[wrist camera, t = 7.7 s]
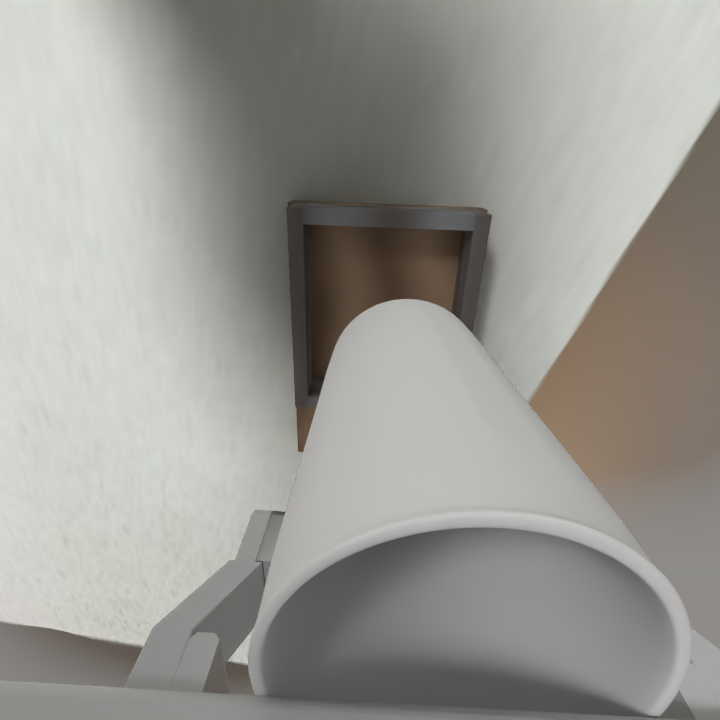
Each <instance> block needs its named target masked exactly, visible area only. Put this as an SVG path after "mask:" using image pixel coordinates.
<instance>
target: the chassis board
mask: <svg viewBox="0 0 720 720" xmlns="http://www.w3.org/2000/svg"><path fill="white" fill-rule="evenodd" d="M491 217H492V215H490V214H488V213H487V210H486V209H483V208H467V207H441V206H415V205H389V204H364V203H338V202H312V201H290V202H288V207H287V224H288V246H289V269H290V292H291V314H292V337H293V360H294V383H295V405H296V407H297V430H298V452H303V451H304V447H305V444H306V441H307V437H308V434H309V431H310V427H311V424H312V420H313V417H314V414H315V410H316V407H317V403H318V400H319V396H320V393H321V389H322V386H323V382H324V379H325V375H326V372H327V369H328V365H329V362H330V360H331V357H332V354H333V351H334V348H335V345H336V343H337V341H338V339H339V337H340V335H341V334H342V332H343V331H344V329H345V328H346V327H347V326H348V325H349V324H350V322H351V321H353V320H354V319H355V318H356V317H357V316H358V315H360V314H361V313H362V312H364V311H366V310H367V309H369V308H371V307H373V306H375V305H378V304H380V303H383V302H387V301H391V300H398V299H416V300H422V301H427V302H430V303H433V304H436V305H438V306H440V307H443V308H444V309H446V310H448V311H449V312H451V313H452V314H453V315H455V316H456V317H457V318H458V319H459V320H460V321H461V322H462V323H463V324H464V325H465V326H466V327H467V328H468V329H469V331H470V332H471V333H472V329H473V323H474V317H475V311H476V305H477V299H478V294H479V288H480V282H481V276H482V270H483V264H484V258H485V252H486V246H487V240H488V235H489V229H490V223H491Z"/></svg>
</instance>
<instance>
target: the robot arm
mask: <svg viewBox="0 0 720 720" xmlns="http://www.w3.org/2000/svg"><path fill="white" fill-rule="evenodd" d="M284 515H285V512H281V511H264V510H255V511H254V512H253V513H252V515H251V518H250V520H249V523H248V526H247V529H246V532H245V534H244V537H243V540H242V543H241V546H240V548H239V551H238V554H237V557H236V560H230V561H228V562H227V563H226V564H225V565H224V566H223V567H222V568H220V569H219V570H218V571H217V572H216V573H215V574H214V575H212V576H211V577H210V578H209V579H208V580H207V581H206V582H204V583H203V584H202V585H201V586H200V587H199V588H198V589H196V590H195V591H194V592H193V593H192V594H191V595H190V596H188V597H187V598H186V599H185V600H184V601H183V602H182V603H180V604H179V605H178V606H177V607H176V608H175V609H174V610H172V611H171V612H170V613H169V614H168V615H167V616H166V617H165V618H163V619H162V620H161V621H160V622H159V623H158V624H157V625H155V626H154V627H153V628H152V630H151V633H150V635H149V637H148V639H147V641H146V643H145V645H144V647H143V649H142V651H141V653H140V655H139V657H138V659H137V661H136V663H135V665H134V668H133V670H132V672H131V674H130V676H129V678H128V680H127V682H126V684H125V686H124V688H116V687H99V686H81V685H65V684H47V683H30V682H12V681H0V720H720V650H719V649H718V648H717V647H715V646H714V645H713V644H711V643H710V642H709V641H707V640H706V639H705V638H703V637H702V636H701V635H700V634H698V633H697V632H695V631H694V630H693V629H691V633H692V650H691V658H690V663H689V667H688V671H687V674H686V677H685V679H684V681H683V684H682V686H681V688H680V690H679V691H678V693H677V695H676V696H675V698H674V699H673V701H672V702H671V704H670V705H669V706H668V708H667V709H666V710H665V711H664V712H663V713H662V715H661V716H660V717H659V718H646V717H628V716H610V715H593V714H575V713H558V712H540V711H523V710H506V709H488V708H470V707H452V706H435V705H417V704H399V703H381V702H363V701H345V700H328V699H310V698H292V697H274V696H256V695H239V694H230V689H229V684H228V679H227V674H226V669H225V665H224V664H225V663H226V662H227V661H228V660H229V658H230V657H231V656H232V654H233V653H234V652H235V651H236V649H237V648H238V647H239V646H240V644H241V643H242V642H243V641H244V639H245V638H246V637H247V636H248V634H249V633H250V632H251V631H252V629H253V628H254V626H255V623H256V621H257V617H258V613H259V609H260V605H261V601H262V597H263V592H264V588H265V584H266V580H267V576H268V572H269V568H270V564H271V561H272V557H273V553H274V550H275V546H276V542H277V539H278V535H279V532H280V528H281V525H282V522H283V518H284Z"/></svg>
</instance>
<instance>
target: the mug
mask: <svg viewBox="0 0 720 720" xmlns="http://www.w3.org/2000/svg"><path fill="white" fill-rule="evenodd" d="M691 650H692V633H691V626H690V622H689V618H688V615H687V612H686V609H685V607H684V605H683V602H682V601H681V599H680V597H679V595H678V593H677V592H676V590H675V589H674V587H673V586H672V584H671V583H670V582H669V580H668V579H667V578H666V577H665V576H664V574H663V573H662V572H661V571H660V570H659V569H658V568H657V567H656V566H655V565H654V564H652V562H651V561H650V559H649V558H648V557H647V555H646V554H645V553H644V551H643V550H642V548H641V547H640V545H639V544H638V543H637V541H636V540H635V539H634V537H633V536H632V534H631V533H630V532H629V530H628V529H627V528H626V526H625V525H624V524H623V522H622V521H621V520H620V518H619V517H618V516H617V514H616V513H615V512H614V511H613V509H612V508H611V507H610V506H609V504H608V503H607V502H606V501H605V499H604V498H603V497H602V495H601V494H600V493H599V491H598V490H597V489H596V488H595V486H594V485H593V484H592V483H591V481H590V480H589V479H588V478H587V476H586V475H585V474H584V473H583V471H582V470H581V469H580V468H579V466H578V465H577V464H576V463H575V461H574V460H573V459H572V458H571V456H570V455H569V454H568V453H567V451H566V450H565V449H564V448H563V447H562V445H561V444H560V443H559V441H558V440H557V439H556V438H555V437H554V435H553V434H552V433H551V431H550V430H549V429H548V428H547V426H546V425H545V424H544V423H543V422H542V420H541V419H540V418H539V417H538V415H537V414H536V413H535V412H534V410H533V409H532V408H531V407H530V405H529V404H528V403H527V402H526V400H525V399H524V398H523V397H522V395H521V394H520V393H519V392H518V390H517V389H516V388H515V387H514V385H513V384H512V383H511V382H510V380H509V379H508V378H507V377H506V375H505V374H504V373H503V372H502V370H501V369H500V368H499V366H498V365H497V364H496V363H495V361H494V360H493V359H492V357H491V356H490V355H489V354H488V352H487V351H486V350H485V348H484V347H483V346H482V345H481V343H480V342H479V341H478V340H477V339H476V337H475V336H474V335H473V334H472V333H471V332H470V331H469V329H468V328H467V327H466V326H465V325H464V324H463V323H462V322H461V321H460V320H459V319H458V318H457V317H456V316H455V315H453V314H452V313H451V312H449V311H448V310H446V309H444V308H443V307H440V306H438V305H436V304H433V303H430V302H427V301H422V300H416V299H398V300H391V301H387V302H383V303H380V304H378V305H375V306H373V307H371V308H369V309H367V310H366V311H364V312H362V313H361V314H360V315H358V316H357V317H356V318H355V319H354V320H353V321H351V322H350V324H349V325H348V326H347V327H346V328H345V329H344V331H343V332H342V334H341V335H340V337H339V339H338V341H337V343H336V345H335V348H334V351H333V354H332V357H331V360H330V362H329V365H328V369H327V372H326V375H325V379H324V382H323V386H322V389H321V393H320V396H319V400H318V403H317V407H316V410H315V414H314V417H313V420H312V424H311V427H310V431H309V434H308V437H307V441H306V444H305V447H304V451H303V454H302V458H301V461H300V464H299V468H298V471H297V474H296V478H295V481H294V484H293V488H292V491H291V494H290V498H289V501H288V505H287V508H286V511H285V515H284V518H283V522H282V525H281V528H280V532H279V535H278V539H277V542H276V546H275V550H274V553H273V557H272V561H271V564H270V568H269V572H268V576H267V580H266V584H265V588H264V592H263V597H262V601H261V605H260V609H259V613H258V617H257V621H256V623H255V626H254V629H253V632H252V635H251V640H250V645H249V654H248V667H249V675H250V680H251V684H252V687H253V690H254V693H255V695H256V696H274V697H292V698H310V699H328V700H345V701H363V702H381V703H399V704H417V705H435V706H452V707H470V708H488V709H506V710H523V711H540V712H558V713H575V714H593V715H610V716H628V717H646V718H659V717H660V716H661V715H662V713H663V712H664V711H665V710H666V709H667V708H668V706H669V705H670V704H671V702H672V701H673V699H674V698H675V696H676V695H677V693H678V691H679V690H680V688H681V686H682V684H683V681H684V679H685V677H686V674H687V671H688V667H689V663H690V658H691Z"/></svg>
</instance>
